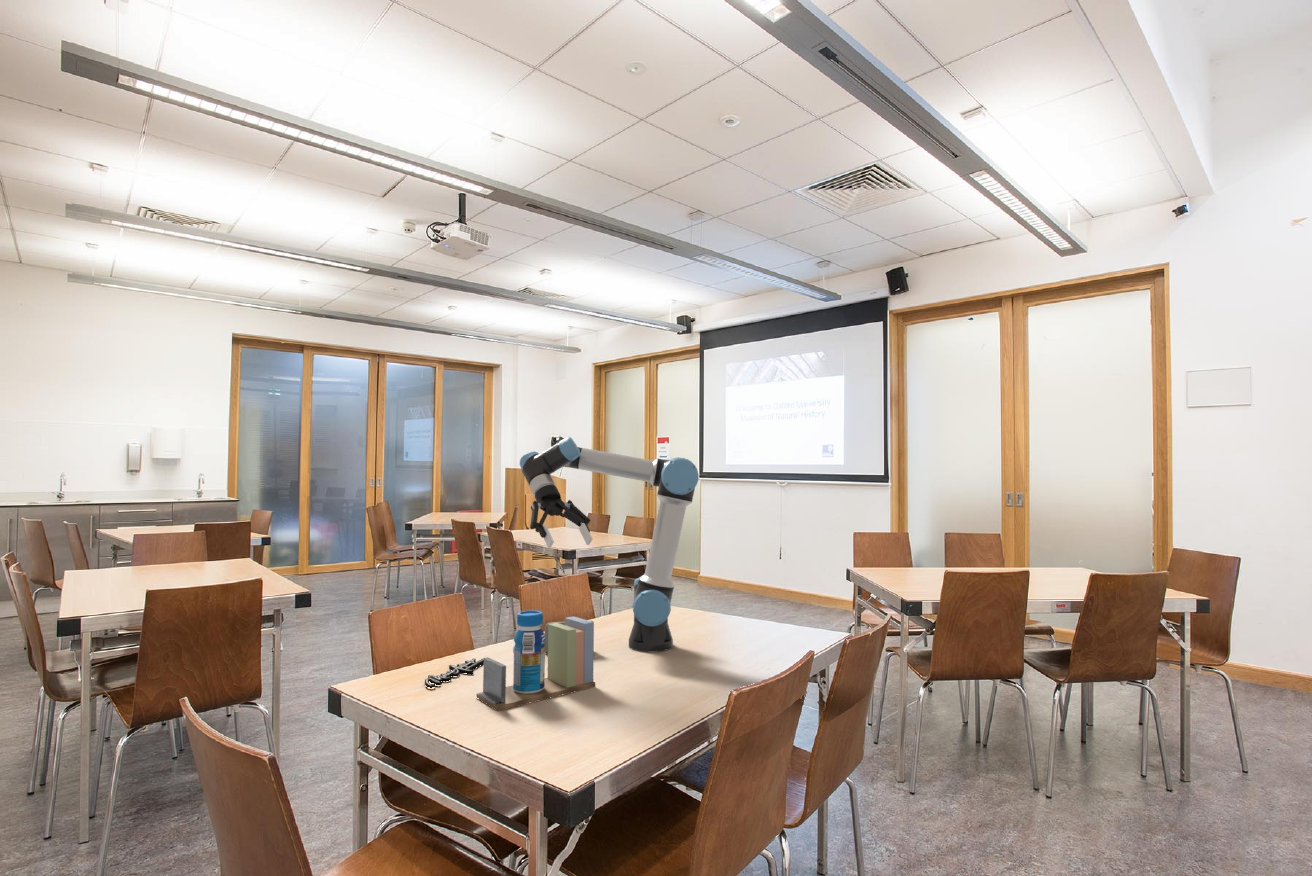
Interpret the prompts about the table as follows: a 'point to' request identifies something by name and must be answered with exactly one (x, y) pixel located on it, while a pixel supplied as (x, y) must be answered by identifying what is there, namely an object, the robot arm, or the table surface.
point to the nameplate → (454, 672)
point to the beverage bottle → (529, 653)
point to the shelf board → (535, 694)
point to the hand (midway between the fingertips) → (570, 543)
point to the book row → (571, 652)
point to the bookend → (494, 681)
